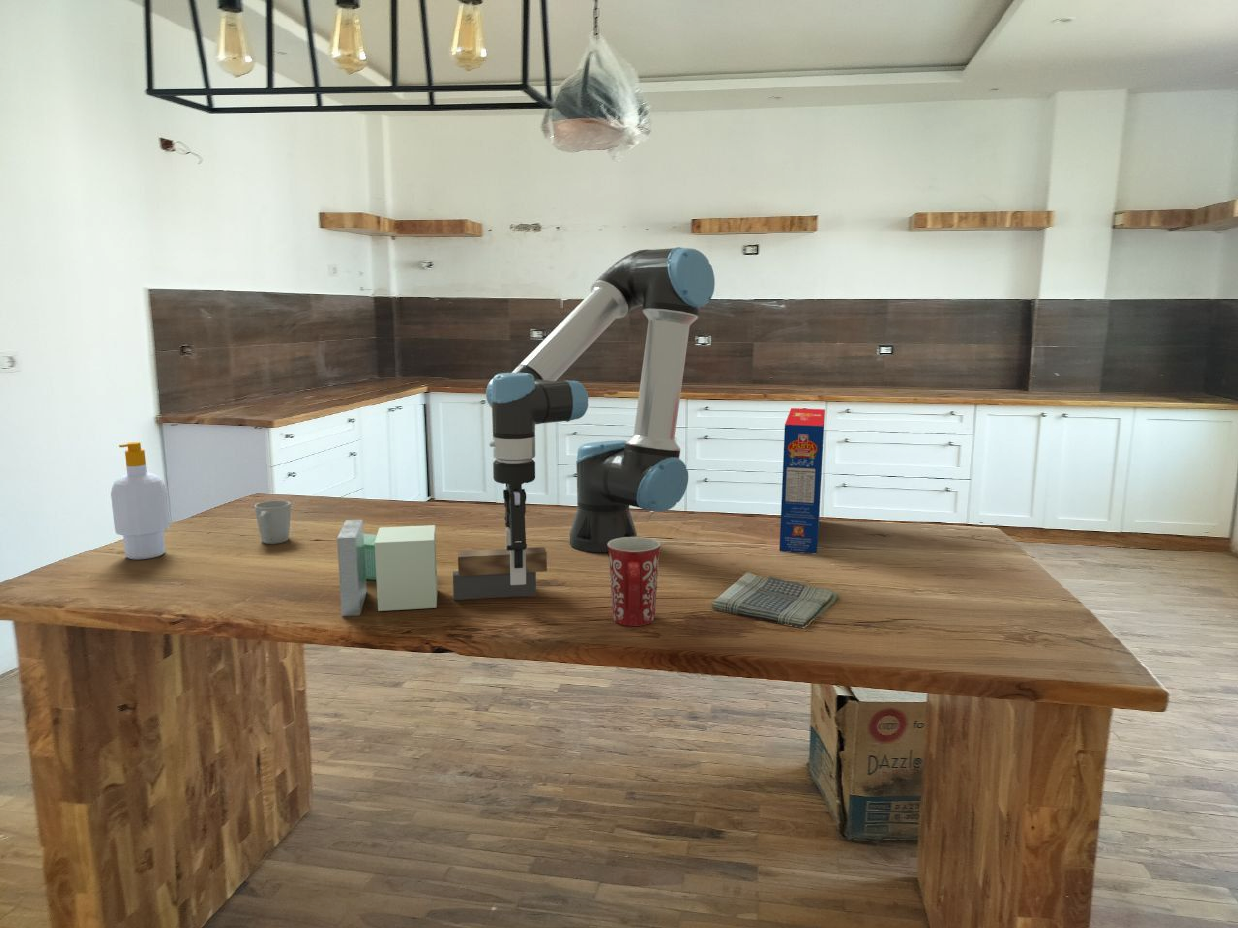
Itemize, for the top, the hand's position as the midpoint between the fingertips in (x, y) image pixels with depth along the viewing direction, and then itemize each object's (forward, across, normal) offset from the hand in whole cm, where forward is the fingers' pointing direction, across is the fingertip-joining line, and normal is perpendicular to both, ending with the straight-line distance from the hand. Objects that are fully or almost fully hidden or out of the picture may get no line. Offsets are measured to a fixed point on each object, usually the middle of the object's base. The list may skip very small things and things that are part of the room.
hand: (515, 572), depth 158 cm
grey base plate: (+4, 0, -29) cm, 29 cm away
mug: (+4, +17, +19) cm, 26 cm away
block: (+4, 0, -19) cm, 20 cm away
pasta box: (+4, -29, +68) cm, 74 cm away
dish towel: (+5, +13, +46) cm, 48 cm away
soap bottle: (+5, -38, -76) cm, 85 cm away
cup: (+5, -44, -51) cm, 67 cm away
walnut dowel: (0, 0, -2) cm, 2 cm away
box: (+5, -16, -25) cm, 30 cm away
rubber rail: (+4, 0, -4) cm, 6 cm away
